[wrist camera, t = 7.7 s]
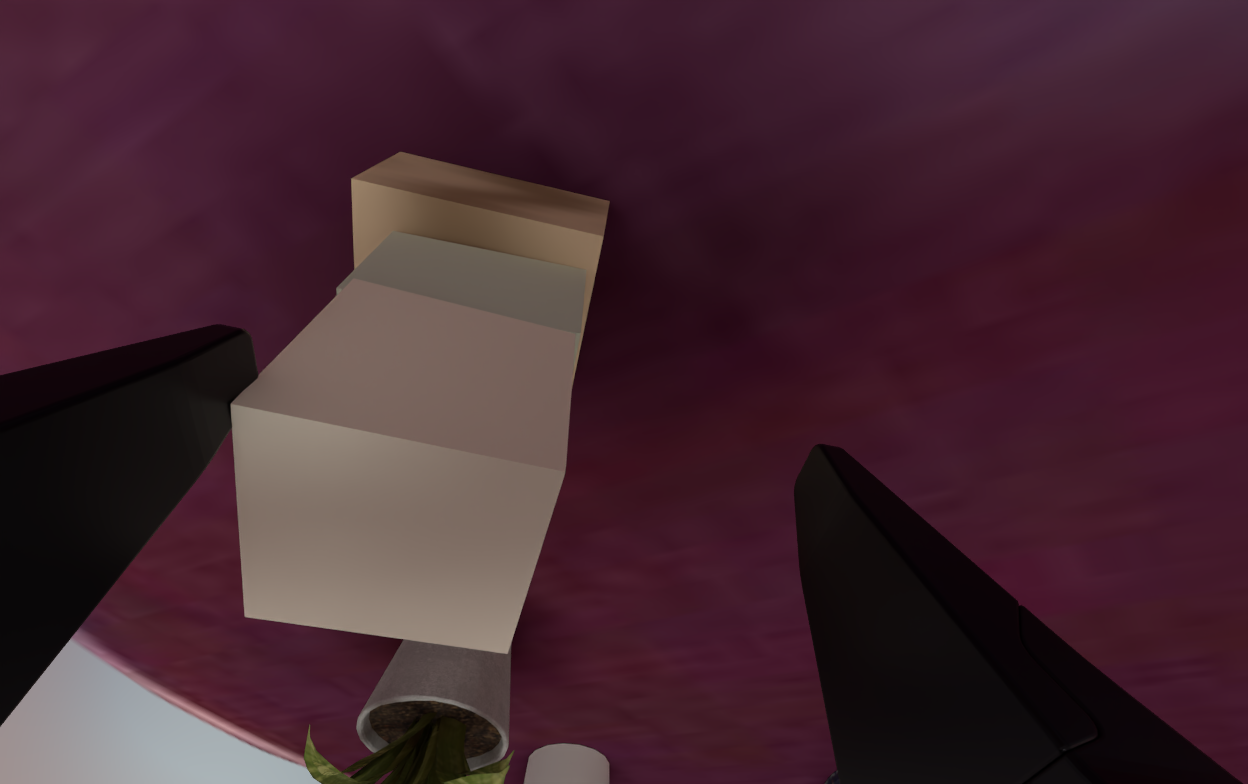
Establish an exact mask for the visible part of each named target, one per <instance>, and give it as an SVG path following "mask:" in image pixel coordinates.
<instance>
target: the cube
mask: <svg viewBox="0 0 1248 784" xmlns="http://www.w3.org/2000/svg"><path fill="white" fill-rule="evenodd" d="M575 335H576V334H574V333H570V332H566V331H562V330H558V329H555V328H551V327H547V326H543V325H539V324H535V323H531V322H527V321H523V320H519V319H515V318H511V317H507V316H503V315H499V314H495V313H491V312H487V311H483V310H479V309H475V308H471V307H467V306H463V305H459V304H455V303H451V302H447V301H443V300H439V299H435V298H431V297H427V296H423V295H419V294H415V293H411V292H407V291H403V290H399V289H395V288H391V287H387V286H383V285H379V284H375V283H371V282H367V281H363V280H359V279H355V278H353V279H352V280H351V282H350V283H349V284H348V285H347V286H346V287H345V288H344V289H343V290H342V291H341V292H340V293H339V294H338V295H337V296H336V297H335V298H334V299H333V300H332V301H331V302H330V303H329V304H328V305H327V306H326V307H325V308H324V309H323V310H322V311H321V312H320V313H319V314H318V315H317V316H316V317H315V318H314V319H313V320H312V321H311V322H310V323H309V324H308V325H307V326H306V327H305V328H304V329H303V330H302V331H301V332H300V333H299V334H298V335H297V337H296V338H295V339H294V340H293V341H292V342H291V343H290V344H289V345H288V346H287V347H286V348H285V349H284V350H283V351H282V352H281V353H280V354H279V355H278V356H277V357H276V358H275V359H274V360H273V361H272V362H271V363H270V364H269V365H268V366H267V367H266V368H265V369H264V370H263V371H262V372H261V373H260V374H259V375H258V379H256V380H255V381H254V382H253V383H252V384H251V385H249V386H248V387H247V388H246V389H245V390H243V391H242V393H241V394H240V395H239V396H238V397H237V398H236V399H235V400H234V401H233V402H232V403H231V404H230V405H231V420H232V435H233V450H234V464H235V479H236V494H237V509H238V523H239V538H240V553H241V568H242V582H243V597H244V612H245V617H249V618H256V619H263V620H271V621H278V622H285V623H292V624H299V625H306V626H313V627H320V628H327V629H334V630H342V631H349V632H356V633H363V634H370V635H377V636H384V637H391V638H398V639H405V640H412V641H420V642H427V643H434V644H441V645H448V646H455V647H462V648H469V649H476V650H483V651H491V652H498V653H505V654H508V651H509V648H510V645H511V642H512V639H513V636H514V633H515V629H516V626H517V623H518V620H519V617H520V614H521V611H522V607H523V604H524V601H525V598H526V595H527V592H528V589H529V585H530V582H531V579H532V576H533V573H534V570H535V566H536V563H537V560H538V557H539V554H540V551H541V548H542V544H543V541H544V538H545V535H546V532H547V529H548V526H549V522H550V519H551V516H552V513H553V510H554V507H555V504H556V500H557V497H558V494H559V491H560V488H561V485H562V482H563V478H564V475H565V472H566V459H567V445H568V431H569V418H570V404H571V390H572V376H573V363H574V349H575Z"/></svg>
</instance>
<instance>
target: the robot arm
mask: <svg viewBox="0 0 1248 784" xmlns="http://www.w3.org/2000/svg"><path fill="white" fill-rule="evenodd" d="M256 379H258V370H257V365H256V359H255V353H254V347H253V341H252V338H251V335H250V334H249V332H247V331H246V330H245V329H241V328H236V327H231V326H226V325H221V324H216V325H211V326H207V327H203V328H198V329H194V330H190V331H186V332H181V333H177V334H173V335H169V336H164V337H160V338H156V339H152V340H148V341H143V342H139V343H135V344H131V345H126V346H122V347H118V348H114V349H110V350H105V351H101V352H97V353H93V354H88V355H84V356H80V357H76V358H71V359H67V360H63V361H59V362H55V363H50V364H46V365H42V366H38V367H33V368H29V369H25V370H21V371H17V372H12V373H8V374H4V375H0V726H1V725H2V724H3V723H4V721H5V720H6V719H7V718H8V716H9V715H10V714H11V713H12V711H13V710H14V709H15V708H16V706H17V705H18V704H19V703H20V701H21V700H22V699H23V698H24V696H25V695H26V694H27V693H28V691H29V690H30V689H31V687H32V686H33V685H34V684H35V683H36V681H37V680H38V679H39V678H40V676H41V675H42V674H43V672H44V671H45V670H46V669H47V667H48V666H49V665H50V664H51V662H52V661H53V660H54V659H55V657H56V656H57V655H58V654H59V652H60V651H61V650H62V648H63V647H64V646H65V645H66V644H67V642H68V641H69V640H70V639H71V637H72V636H73V635H74V634H75V632H76V631H77V630H78V629H79V627H80V626H81V625H82V624H83V622H84V621H85V620H86V619H87V617H88V616H89V615H90V614H91V612H92V611H93V610H94V609H95V607H96V606H97V605H98V603H99V602H100V601H101V600H102V598H103V597H104V596H105V595H106V593H107V592H108V591H109V590H110V588H111V587H112V586H113V585H114V583H115V582H116V581H117V580H118V578H119V577H120V576H121V575H122V573H123V572H124V571H125V570H126V568H127V567H128V566H129V565H130V563H131V562H132V561H133V560H134V558H135V557H136V556H137V555H138V553H139V552H140V551H141V550H142V548H143V547H144V546H145V545H146V543H147V542H148V541H149V539H150V538H151V537H152V536H153V534H154V533H155V532H156V531H157V529H158V528H159V527H160V526H161V524H162V523H163V522H164V521H165V519H166V518H167V517H168V516H169V514H170V513H171V512H172V511H173V509H174V508H175V507H176V506H177V504H178V503H179V502H180V501H181V499H182V498H183V497H184V496H185V494H186V493H187V492H188V491H189V489H190V488H191V487H192V486H193V484H194V483H195V482H196V480H197V479H198V478H199V476H200V475H201V474H202V473H203V471H204V470H205V469H206V467H207V466H208V464H209V463H210V461H211V460H212V458H213V457H214V455H215V454H216V452H217V451H218V449H219V447H220V446H221V444H222V442H223V441H224V439H225V438H226V436H227V434H228V433H229V431H230V430H231V428H232V420H231V405H230V404H231V403H232V402H233V401H234V400H235V399H236V398H237V397H238V396H239V395H240V394H241V393H242V391H243V390H245V389H246V388H247V387H248V386H249V385H251V384H252V383H253V382H254V381H255V380H256ZM794 500H795V514H796V528H797V542H798V556H799V568H800V576H801V582H802V588H803V594H804V599H805V604H806V609H807V614H808V620H809V625H810V630H811V635H812V640H813V646H814V651H815V656H816V661H817V667H818V672H819V677H820V682H821V687H822V693H823V698H824V703H825V708H826V714H827V719H828V724H829V729H830V734H831V740H832V745H833V750H834V755H835V760H836V766H837V771H838V776H839V781H840V784H1243V783H1242V782H1240V781H1239V780H1238V779H1236V778H1235V777H1234V776H1232V775H1231V774H1230V773H1229V772H1227V771H1226V770H1225V769H1224V768H1222V767H1221V766H1220V765H1218V764H1217V763H1216V762H1215V761H1213V760H1212V759H1211V758H1210V757H1208V756H1207V755H1206V754H1204V753H1203V752H1202V751H1201V750H1199V749H1198V748H1197V747H1196V746H1194V745H1193V744H1192V743H1191V742H1189V741H1188V740H1187V739H1185V738H1184V737H1183V736H1182V735H1180V734H1179V733H1178V732H1177V731H1175V730H1174V729H1173V728H1172V727H1170V726H1169V725H1168V724H1166V723H1165V722H1164V721H1163V720H1161V719H1160V718H1159V717H1158V716H1156V715H1155V714H1154V713H1152V712H1151V711H1150V710H1149V709H1147V708H1146V707H1145V706H1144V705H1142V704H1141V703H1140V702H1139V701H1137V700H1136V699H1135V698H1133V697H1132V696H1131V695H1130V694H1128V693H1127V692H1126V691H1125V690H1123V689H1122V688H1121V687H1120V686H1118V685H1117V684H1116V683H1115V682H1113V681H1112V680H1111V679H1110V678H1108V677H1107V676H1106V675H1105V674H1103V673H1102V672H1101V671H1100V670H1099V669H1097V668H1096V667H1095V666H1094V665H1092V664H1091V663H1090V662H1089V661H1087V660H1086V659H1085V658H1084V657H1082V656H1081V655H1080V654H1079V653H1078V652H1076V651H1075V650H1074V649H1073V648H1072V647H1071V646H1069V645H1068V644H1067V643H1066V642H1065V641H1064V640H1062V639H1061V638H1060V637H1059V636H1058V635H1056V634H1055V633H1054V632H1053V631H1052V630H1051V629H1049V628H1048V627H1047V626H1046V625H1045V624H1044V623H1042V622H1041V621H1040V620H1039V619H1038V618H1037V617H1036V616H1034V615H1033V614H1032V613H1031V612H1030V611H1029V610H1028V609H1026V608H1025V607H1024V606H1022V605H1020V606H1019V604H1018V601H1017V600H1016V599H1015V598H1014V597H1012V596H1011V595H1010V594H1009V593H1008V592H1007V591H1006V590H1004V589H1003V588H1002V587H1001V586H1000V585H999V584H998V583H996V582H995V581H994V580H993V579H992V578H991V577H989V576H988V575H987V574H986V573H985V572H984V571H983V570H981V569H980V568H979V567H978V566H977V565H976V564H975V563H973V562H972V561H971V560H970V559H969V558H968V557H967V556H965V555H964V554H963V553H962V552H961V551H960V550H958V549H957V548H956V547H955V546H954V545H953V544H952V543H950V542H949V541H948V540H947V539H946V538H945V537H944V536H942V535H941V534H940V533H939V532H938V531H937V530H936V529H934V528H933V527H932V526H931V525H930V524H929V523H927V522H926V521H925V520H924V519H923V518H922V517H921V516H919V515H918V514H917V513H916V512H915V511H914V510H913V509H911V508H910V507H909V506H908V505H907V504H906V503H905V502H903V501H902V500H901V499H900V498H899V497H898V496H896V495H895V494H894V493H893V492H892V491H891V490H890V489H888V488H887V487H886V486H885V485H884V484H883V483H882V482H880V481H879V480H878V479H877V478H876V477H875V476H874V475H872V474H871V473H870V472H869V471H868V470H867V469H866V468H864V467H863V466H862V465H861V464H860V463H859V462H857V461H856V460H855V459H854V458H853V457H852V456H851V455H849V454H848V453H847V452H846V451H845V450H844V449H842V448H840V447H835V446H830V445H825V444H818V445H815V446H814V447H813V449H812V450H811V452H810V454H809V456H808V458H807V460H806V462H805V464H804V466H803V468H802V470H801V472H800V473H799V475H798V477H797V480H796V483H795V487H794Z"/></svg>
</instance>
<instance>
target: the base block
mask: <svg viewBox="0 0 1248 784" xmlns="http://www.w3.org/2000/svg"><path fill="white" fill-rule="evenodd" d="M351 185H352V215H353V245H354V270H355V269H356V268H357V267H358V266H359V265H360V264H361V263H362V262H363V261H364V260H365V259H366V258H367V257H368V256H369V255H370V254H371V253H372V252H373V251H374V250H375V249H376V248H377V247H378V246H379V245H380V244H381V243H382V241H383V240H384V239H385V238H386V237H387V236H388V235H389V234H390V233H391V232H392V231H397V232H402V233H407V234H412V235H417V236H422V237H427V238H432V239H437V240H442V241H447V242H452V243H457V244H461V245H466V246H471V247H476V248H481V249H486V250H491V251H496V252H501V253H506V254H511V255H516V256H521V257H526V258H531V259H536V260H541V261H546V262H551V263H556V264H561V265H566V266H571V267H575V268H580V269H585V270H587V271H586V282H585V293H584V304H583V314H582V325H581V335H580V340H579V345H578V350H577V354H576V359H575V364H574V369H573V376H572V385H573V381H574V376H575V371H576V366H577V361H578V357H579V352H580V347H581V342H582V338H583V333H584V328H585V323H586V318H587V314H588V309H589V304H590V299H591V294H592V290H593V285H594V280H595V275H596V271H597V266H598V261H599V256H600V251H601V247H602V242H603V237H604V231H605V226H606V220H607V215H608V209H609V203H610V201H607V200H602V199H598V198H594V197H590V196H586V195H581V194H577V193H573V192H569V191H564V190H560V189H556V188H552V187H548V186H543V185H539V184H535V183H531V182H526V181H522V180H518V179H514V178H509V177H505V176H501V175H497V174H493V173H488V172H484V171H480V170H476V169H471V168H467V167H463V166H459V165H454V164H450V163H446V162H442V161H438V160H433V159H429V158H425V157H421V156H416V155H412V154H408V153H404V152H399V153H397V154H395V155H393V156H392V157H390V158H388V159H386V160H384V161H382V162H381V163H379V164H377V165H375V166H373V167H371V168H370V169H368V170H366V171H364V172H362V173H360V174H359V175H357V176H355V177H353V178H351Z"/></svg>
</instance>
